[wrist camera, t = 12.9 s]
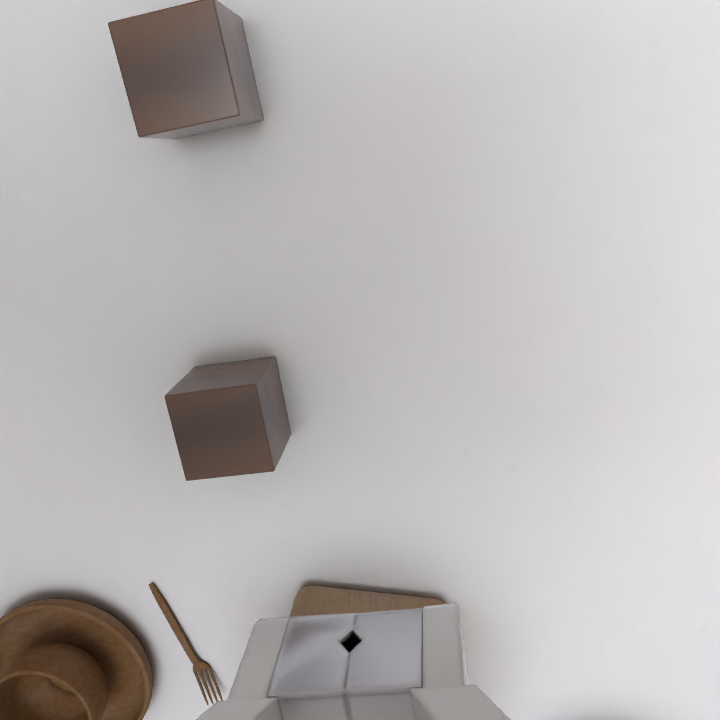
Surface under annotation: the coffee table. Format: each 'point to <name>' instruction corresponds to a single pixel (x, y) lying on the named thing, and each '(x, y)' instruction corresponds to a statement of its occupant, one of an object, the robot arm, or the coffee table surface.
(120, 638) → the place setting
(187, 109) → the middle block
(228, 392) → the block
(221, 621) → the coffee table surface
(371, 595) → the wooden block
